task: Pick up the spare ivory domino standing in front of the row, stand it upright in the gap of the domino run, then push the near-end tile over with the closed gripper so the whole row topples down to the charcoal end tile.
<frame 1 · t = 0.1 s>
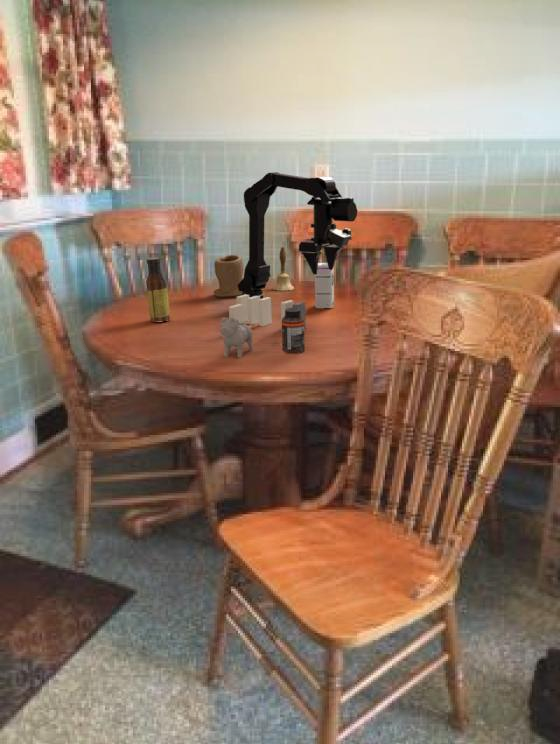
hand: (323, 271, 204), 15 cm above the table, tool pointing down, fingers open, 9 cm apart
domino 4: (287, 328, 198), on the table
domino 2: (254, 322, 205), on the table
sauce bottle: (159, 321, 210), on the table
grey animal figure: (237, 354, 173), on the table
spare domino: (237, 332, 194), on the table
hand bell: (283, 289, 255), on the table
supplement bottle: (293, 351, 175), on the table
syrup box: (324, 307, 224), on the table
domino 5: (299, 329, 196), on the table
domino 1: (243, 321, 207), on the table
stone cup: (234, 296, 244), on the table
domino 3: (265, 324, 203), on the table
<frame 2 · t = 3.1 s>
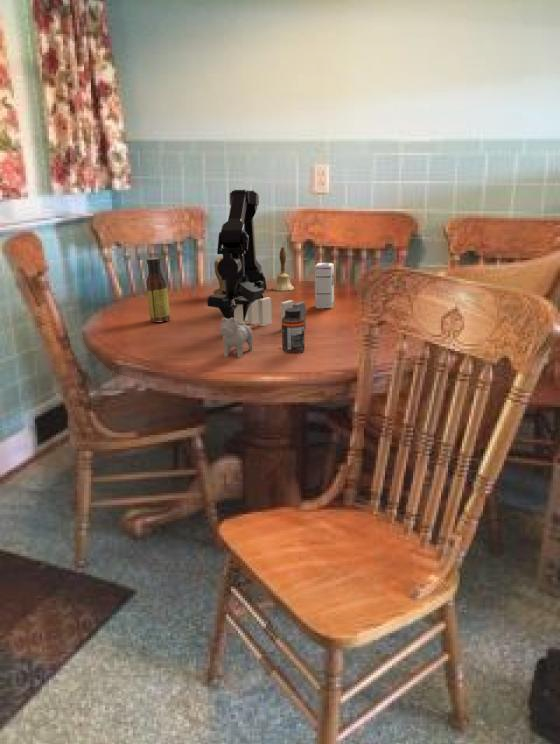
hand: (236, 325, 194), 2 cm above the table, tool pointing down, fingers closed on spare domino, 4 cm apart
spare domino: (237, 332, 194), on the table, touching gripper
everything else where it was.
when the fingers open (3 cm above the table, at t = 7.7 s): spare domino stays where it is, on the table.
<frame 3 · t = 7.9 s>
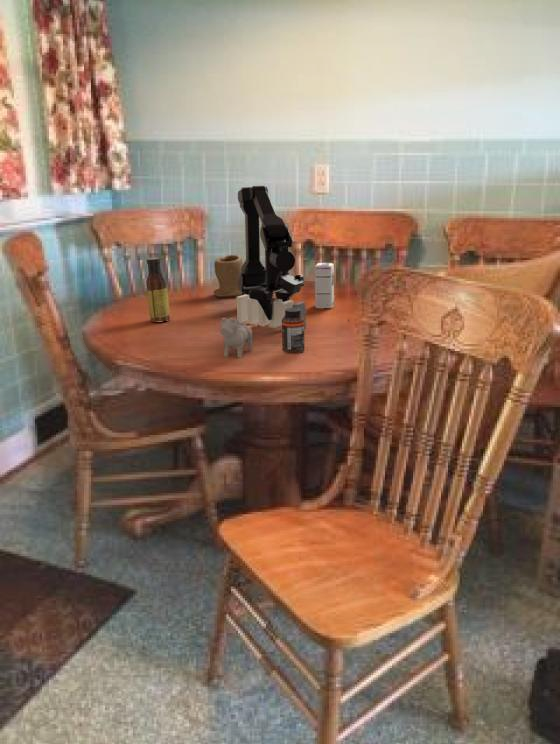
hand: (276, 317, 199), 3 cm above the table, tool pointing down, fingers open, 6 cm apart
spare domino: (276, 326, 200), on the table
everything else where it was.
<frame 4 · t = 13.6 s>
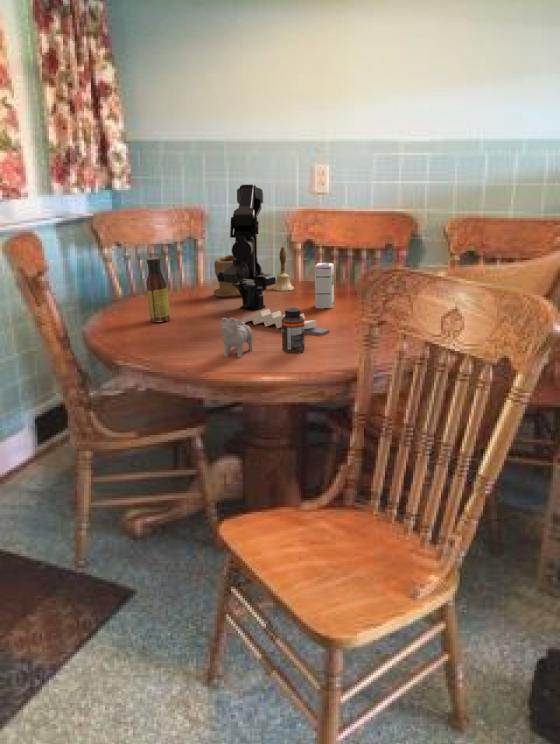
hand: (247, 305, 205), 5 cm above the table, tool pointing down, fingers closed
domino 4: (291, 326, 197), point 1 cm above the table, tilted 78°, touching domino 5, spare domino
domino 2: (257, 320, 204), point 1 cm above the table, tilted 68°, touching domino 1, domino 3
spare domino: (280, 324, 199), point 1 cm above the table, tilted 66°, touching domino 3, domino 4
domino 5: (302, 330, 195), on the table, tilted 90°, touching domino 4
domino 1: (247, 319, 206), point 1 cm above the table, tilted 68°, touching domino 2
domino 3: (268, 322, 202), point 1 cm above the table, tilted 67°, touching domino 2, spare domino
everything else where it was.
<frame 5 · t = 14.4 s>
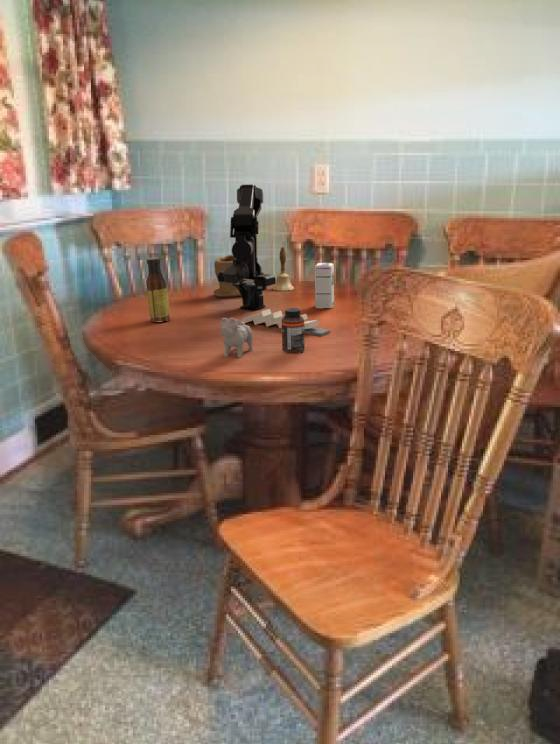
hand: (247, 305, 205), 5 cm above the table, tool pointing down, fingers closed
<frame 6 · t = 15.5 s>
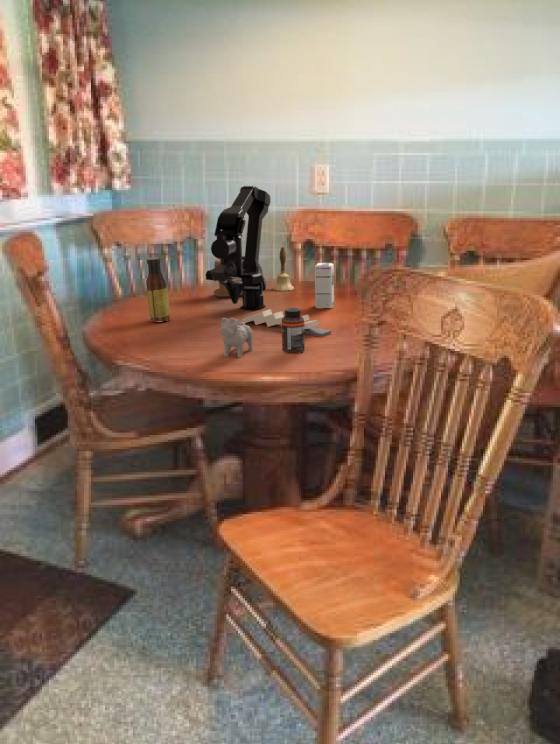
hand: (234, 303, 208), 5 cm above the table, tool pointing down, fingers closed
domino 4: (295, 327, 195), point 1 cm above the table, tilted 73°, touching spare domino
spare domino: (286, 324, 199), point 1 cm above the table, tilted 67°, touching domino 4
domino 5: (304, 330, 194), on the table, tilted 90°
domino 1: (248, 319, 206), point 1 cm above the table, tilted 68°, touching domino 2
domino 3: (271, 322, 201), point 1 cm above the table, tilted 69°, touching domino 2
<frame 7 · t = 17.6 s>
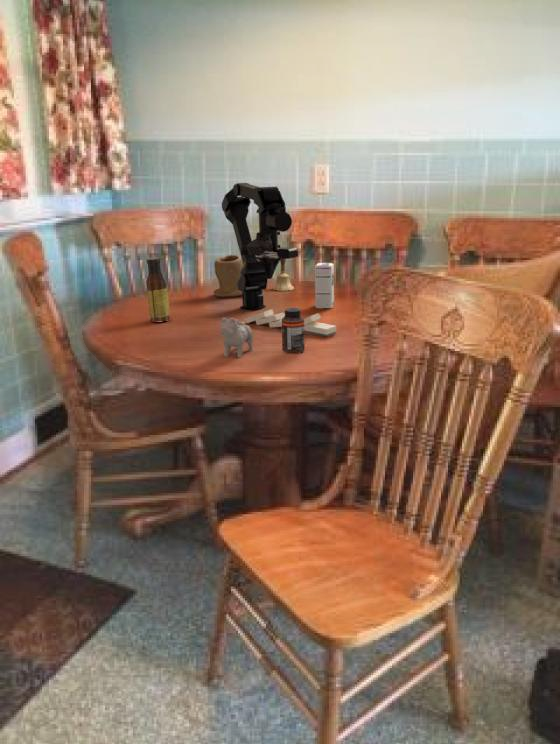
hand: (269, 278, 210), 12 cm above the table, tool pointing down, fingers closed
domino 4: (309, 326, 193), point 2 cm above the table, tilted 90°, touching domino 5
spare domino: (296, 327, 196), point 1 cm above the table, tilted 61°, touching domino 3
domino 5: (308, 331, 193), on the table, tilted 90°, touching domino 4
domino 1: (250, 319, 206), point 1 cm above the table, tilted 68°, touching domino 2
domino 3: (273, 323, 200), point 1 cm above the table, tilted 79°, touching domino 2, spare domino
at the end: domino 5 tilted 90°; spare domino tilted 61°; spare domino inside the target area (5.4 cm from its centre), point 0.7 cm above the table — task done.
